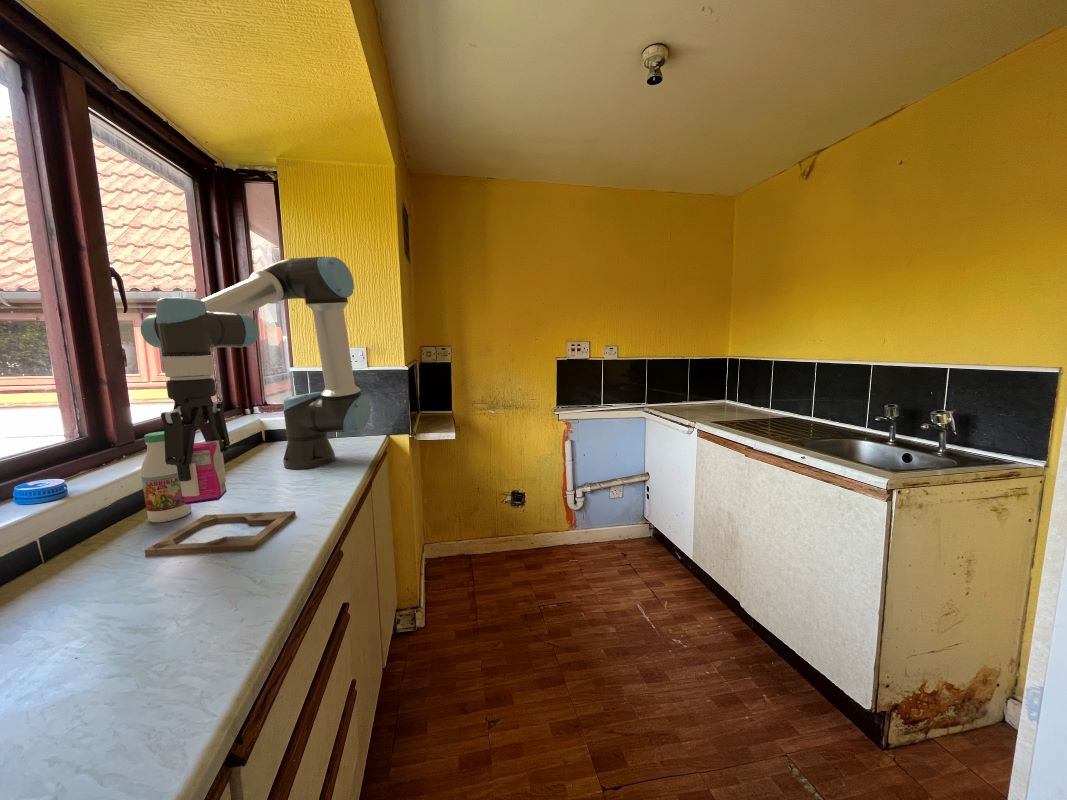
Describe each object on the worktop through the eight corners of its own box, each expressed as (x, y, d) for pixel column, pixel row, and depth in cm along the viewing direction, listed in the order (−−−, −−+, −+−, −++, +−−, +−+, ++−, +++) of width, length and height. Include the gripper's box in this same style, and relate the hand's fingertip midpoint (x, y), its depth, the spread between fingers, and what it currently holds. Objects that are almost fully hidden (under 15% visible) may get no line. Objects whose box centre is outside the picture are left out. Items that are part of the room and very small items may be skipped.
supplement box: (193, 496, 87) (186, 442, 86) (227, 491, 90) (221, 439, 88) (183, 505, 82) (175, 448, 81) (219, 500, 84) (212, 445, 83)
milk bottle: (146, 517, 97) (132, 433, 94) (189, 507, 103) (177, 427, 100) (150, 526, 92) (135, 438, 89) (194, 515, 98) (182, 432, 95)
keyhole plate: (205, 519, 95) (205, 514, 95) (296, 515, 96) (295, 510, 96) (144, 556, 79) (143, 550, 79) (253, 551, 80) (252, 545, 80)
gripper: (207, 374, 92) (219, 474, 95) (124, 383, 72) (144, 508, 76) (242, 373, 93) (253, 473, 96) (169, 382, 73) (187, 506, 76)
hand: (205, 488), depth 86 cm, fingers closed on supplement box, 7 cm apart
